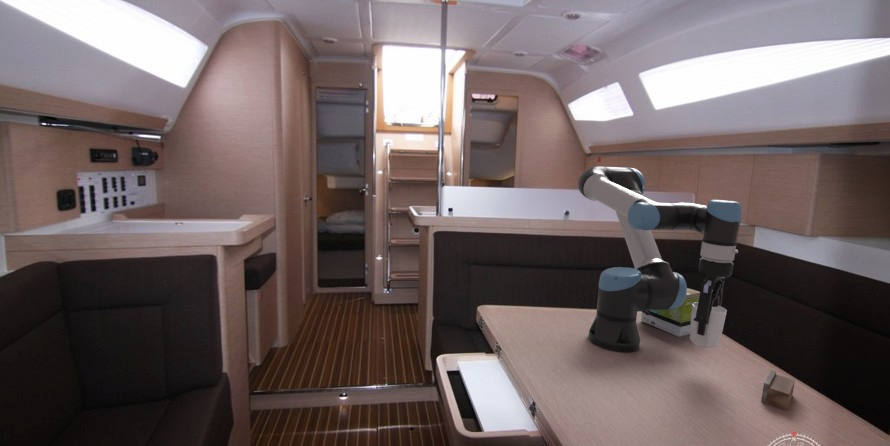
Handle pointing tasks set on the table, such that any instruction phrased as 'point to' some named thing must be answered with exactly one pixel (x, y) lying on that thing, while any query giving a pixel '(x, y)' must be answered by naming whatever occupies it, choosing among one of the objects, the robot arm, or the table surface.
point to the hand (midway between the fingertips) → (704, 341)
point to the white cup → (715, 324)
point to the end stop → (777, 390)
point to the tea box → (673, 316)
